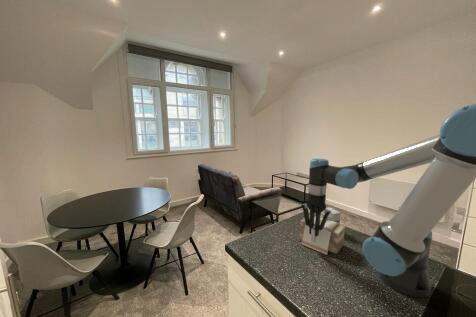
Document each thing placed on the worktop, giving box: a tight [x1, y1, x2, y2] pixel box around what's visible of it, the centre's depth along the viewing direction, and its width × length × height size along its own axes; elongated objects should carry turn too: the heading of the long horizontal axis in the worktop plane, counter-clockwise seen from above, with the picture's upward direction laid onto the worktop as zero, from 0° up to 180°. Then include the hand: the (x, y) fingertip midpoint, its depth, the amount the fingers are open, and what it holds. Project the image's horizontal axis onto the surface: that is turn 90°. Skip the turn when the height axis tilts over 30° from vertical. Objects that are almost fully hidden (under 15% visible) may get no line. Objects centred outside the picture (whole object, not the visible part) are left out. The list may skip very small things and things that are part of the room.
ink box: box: [321, 206, 341, 224], centre depth 110 cm, size 8×5×12 cm, turn 17°
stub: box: [301, 224, 331, 256], centre depth 93 cm, size 12×10×1 cm
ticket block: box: [299, 214, 346, 255], centre depth 98 cm, size 18×10×11 cm, turn 46°
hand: (313, 241), depth 91 cm, fingers closed
